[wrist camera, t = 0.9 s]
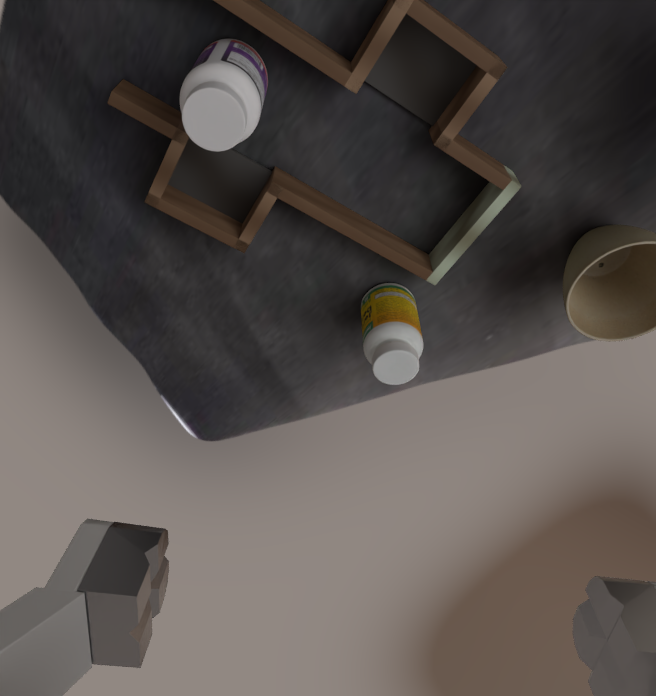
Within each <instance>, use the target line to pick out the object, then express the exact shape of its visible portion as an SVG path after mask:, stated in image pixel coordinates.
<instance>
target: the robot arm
mask: <svg viewBox="0 0 656 696" xmlns="http://www.w3.org/2000/svg"><path fill="white" fill-rule="evenodd" d="M167 546H168V531H167V530H166V529H163V528H156V527H148V526H141V525H133V524H126V523H119V522H107V521H100V520H93V519H87V520H86V521H84V522H83V523H82V524H81V525H80V527H79V529H78V530H77V532H76V534H75V536H74V537H73V539H72V541H71V543H70V544H69V546H68V548H67V549H66V551H65V553H64V555H63V557H62V558H61V560H60V562H59V563H58V565H57V567H56V569H55V570H54V572H53V574H52V576H51V577H50V579H49V581H48V583H47V584H46V586H45V588H37V587H36V588H34V589H33V590H31V591H30V592H28V593H27V594H25V595H24V596H22V597H21V598H19V599H17V600H16V601H14V602H13V603H11V604H10V605H8V606H7V607H5V608H4V609H2V610H1V611H0V696H63V695H64V694H65V693H66V692H67V691H68V690H69V689H70V688H71V687H72V686H73V685H74V684H75V683H76V682H77V681H78V680H79V679H80V678H81V677H82V676H83V675H84V674H85V673H86V672H88V670H89V669H91V668H92V664H97V665H110V666H123V667H137V668H141V665H142V662H143V659H144V656H145V653H146V650H147V647H148V645H149V642H150V639H151V636H152V618H154V617H155V616H156V615H157V614H158V613H159V612H160V609H161V606H162V603H163V600H164V596H165V592H166V587H167V582H168V572H169V561H168V560H167V558H166V557H165V556H164V555H165V552H166V549H167ZM586 592H587V595H588V597H589V599H588V600H587V601H585V602H584V603H582V604H580V605H579V606H578V608H577V610H576V613H575V615H574V618H573V638H574V643H575V647H576V650H577V653H578V655H579V658H580V659H581V660H582V661H583V662H584V663H585V664H586V665H587V666H588V667H589V668H590V669H591V670H592V672H591V674H590V677H589V680H588V682H589V685H590V687H591V690H592V693H593V695H594V696H656V582H649V581H648V582H645V581H640V580H630V579H619V578H610V577H600V576H595V577H594V578H592V579H591V580H590V581H589V583H588V585H587V587H586Z"/></svg>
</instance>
